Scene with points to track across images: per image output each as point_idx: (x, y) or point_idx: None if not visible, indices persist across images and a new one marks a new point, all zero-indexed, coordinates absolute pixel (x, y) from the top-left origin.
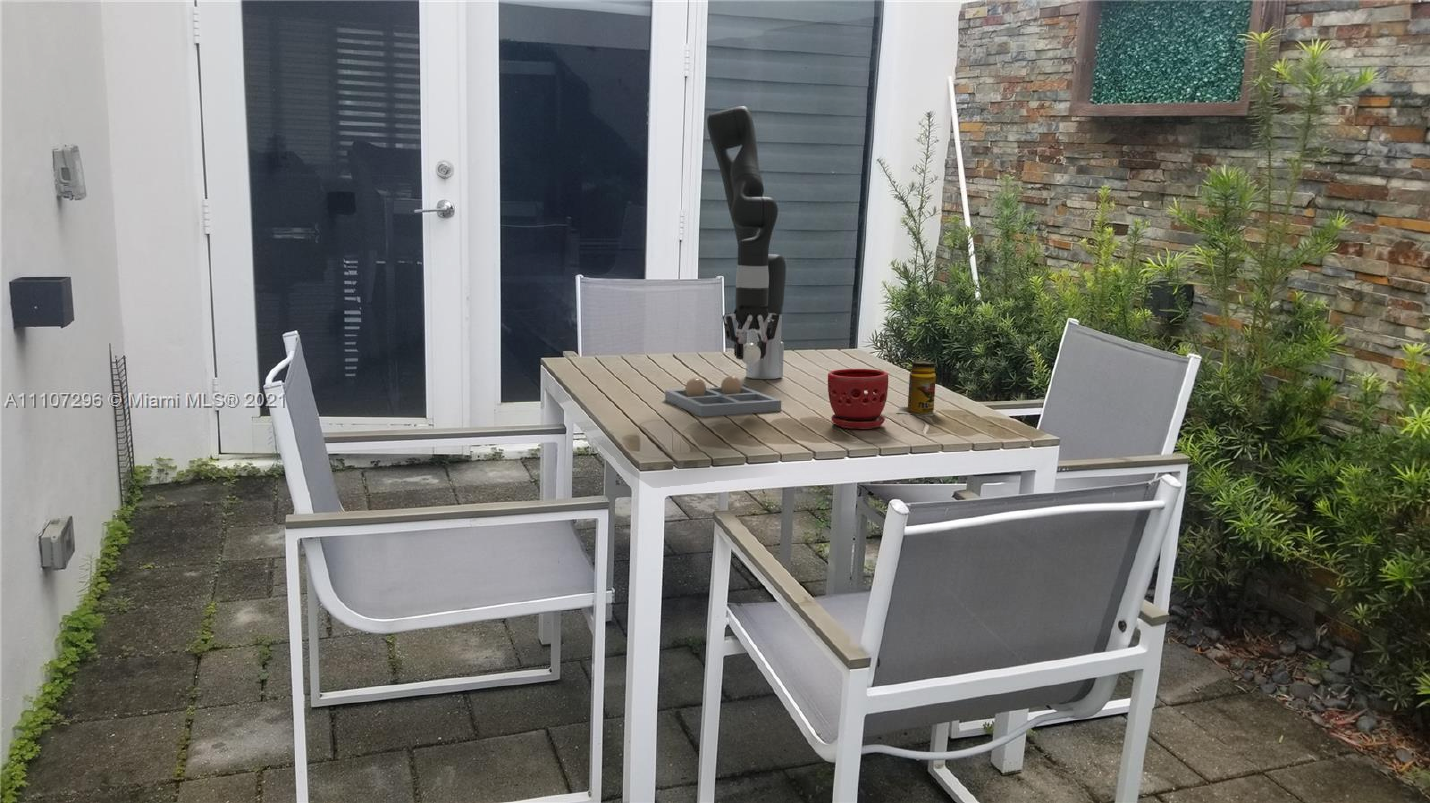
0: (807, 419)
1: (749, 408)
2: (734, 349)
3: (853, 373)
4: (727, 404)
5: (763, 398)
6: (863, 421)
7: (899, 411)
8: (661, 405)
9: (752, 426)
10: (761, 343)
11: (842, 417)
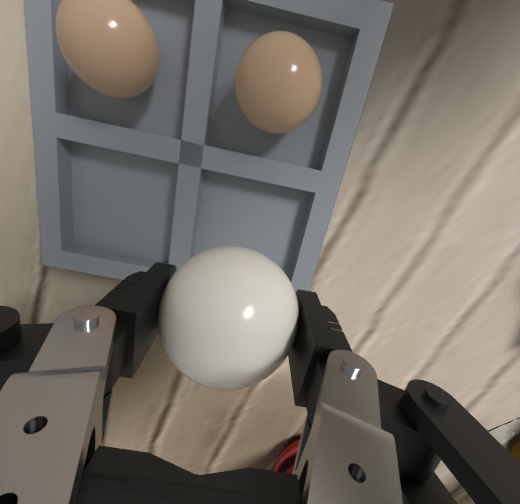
0: (281, 388)
1: None
2: (112, 293)
3: None
4: None
5: (301, 238)
6: None
7: (507, 426)
8: (6, 34)
9: (132, 381)
10: (295, 398)
11: None
